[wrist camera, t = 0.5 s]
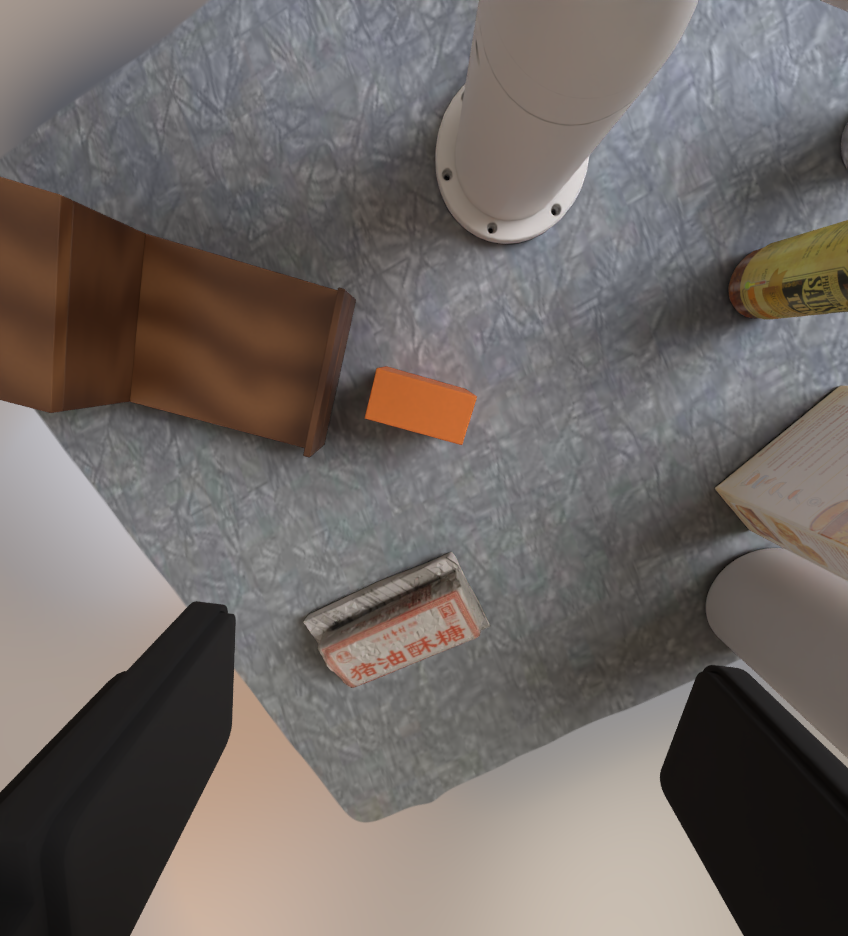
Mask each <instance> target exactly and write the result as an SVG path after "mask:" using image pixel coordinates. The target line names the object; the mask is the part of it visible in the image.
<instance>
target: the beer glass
mask: <svg viewBox="0 0 848 936" xmlns="http://www.w3.org/2000/svg"><path fill="white" fill-rule="evenodd" d="M841 156H842V160H843V163H844V165H845V166H846V168H847V169H848V122H847V124H846V126H845V128H844V131H843V134H842V139H841Z"/></svg>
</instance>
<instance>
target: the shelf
mask: <svg viewBox="0 0 848 936" xmlns="http://www.w3.org/2000/svg"><path fill="white" fill-rule="evenodd" d="M355 303H356V299H355V298H354V297H353V296H352V295H351V294H349V293H348V292H347V291H346V290H345V289H342V288H338V290H334V289H331V288H328V287H324V286H321V285H317V284H314V283H311V282H307V281H304V280H301V279H297V278H294V277H290V276H287V275H284V274H280V273H277V272H274V271H270V270H267V269H263V268H260V267H257V266H253V265H250V264H247V263H243V262H240V261H236V260H233V259H230V258H226V257H223V256H220V255H216V254H213V253H209V252H206V251H203V250H199V249H196V248H193V247H189V246H186V245H183V244H179V243H176V242H172V241H169V240H166V239H162V238H159V237H156V236H152V235H149V234H145V233H143V232H141V231H139V230H136V229H134V228H132V227H130V226H128V225H125V224H123V223H121V222H119V221H117V220H114V219H112V218H110V217H108V216H106V215H103V214H101V213H99V212H97V211H95V210H93V209H90V208H88V207H86V206H84V205H82V204H79V203H77V202H75V201H72V200H71V199H68V198H66V197H64V196H62V195H59V194H56V193H53V192H49V191H46V190H43V189H39V188H36V187H33V186H29V185H26V184H23V183H19V182H16V181H13V180H9V179H6V178H2V177H0V400H3V401H7V402H10V403H14V404H18V405H22V406H26V407H30V408H33V409H37V410H41V411H45V412H49V413H54V412H61V411H68V410H75V409H81V408H88V407H95V406H102V405H109V404H116V403H123V402H133V403H137V404H141V405H144V406H148V407H152V408H156V409H159V410H163V411H167V412H171V413H175V414H178V415H182V416H186V417H190V418H193V419H197V420H201V421H205V422H208V423H212V424H216V425H220V426H224V427H227V428H231V429H235V430H239V431H242V432H246V433H250V434H254V435H258V436H261V437H265V438H269V439H273V440H276V441H280V442H284V443H288V444H291V445H295V446H299V447H303V448H305V450H304V454H303V456H306V457H311V456H312V455H313V454H314V453H315V452H316V451H318V450H319V449H320V448H321V447H322V446H323V445H324V444H325V439H326V435H327V430H328V426H329V421H330V417H331V412H332V408H333V403H334V398H335V394H336V389H337V385H338V380H339V376H340V371H341V367H342V362H343V357H344V353H345V348H346V344H347V339H348V335H349V330H350V326H351V321H352V317H353V312H354V307H355Z"/></svg>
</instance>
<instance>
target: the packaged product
mask: <svg viewBox="0 0 848 936" xmlns="http://www.w3.org/2000/svg"><path fill="white" fill-rule="evenodd" d="M303 622H304V623H305V625H306V626H307V628H308V629H309V631H310V633H311V634H312V635H313V636H314V638H315V640H316V641H317V642H318V650H319V651H320V654H321V655H322V657H323V659H324V661H325V663H326V666H327V667H328V668H329V669H330V670H331V671H334V672H335V673H336V675H337V676H339V677H340V678H341V679H342V681H343V683H345V684H346V685H347V686H350V687H351V688H353V687H357V686H359V685H362V684H365V683H367V682H370V681H372V680H375V679H377V678H379V677H382V676H385V675H387V674H389V673H392V672H394V671H396V670H399V669H401V668H404V667H406V666H408V665H411V664H413V663H416V662H418V661H421V660H423V659H426V658H428V657H431V656H433V655H435V654H438V653H440V652H443V651H445V650H448V649H450V648H452V647H455V646H458V645H460V644H463V643H465V642H468V641H470V640H473V639H475V638H477V637H478V636H480V632H481V630H484V629H486V628H488V627H490V624H489V622H488V620H487V618H486V616H485V614H484V611H483V609H482V607H481V605H480V603H479V601H478V599H477V597H476V596H475V594H474V592H473V590H472V589H471V587H470V585H469V584H468V582H467V580H466V578H465V576H464V574H463V571H462V569H461V567H460V565H459V563H458V561H457V559H456V557H455V555H454V554H453V553H452V552H450V553H448V554H445V555H443V556H441V557H439V558H437V559H434V560H432V561H430V562H428V563H425V564H423V565H420V566H417V567H415V568H412V569H410V570H407V571H404V572H402V573H399V574H397V575H394V576H391V577H389V578H386V579H384V580H381V581H378V582H376V583H374V584H372V585H370V586H368V587H366V588H364V589H362V590H360V591H358V592H356V593H353V594H351V595H349V596H347V597H345V598H343V599H341V600H339V601H336V602H334V603H332V604H330V605H328V606H326V607H324V608H322V609H319V610H317V611H315V612H313V613H311V614H309V615H308V616H307V618H306V619H305V620H304V621H303Z"/></svg>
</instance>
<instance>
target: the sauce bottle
mask: <svg viewBox="0 0 848 936" xmlns="http://www.w3.org/2000/svg"><path fill="white" fill-rule="evenodd" d="M728 290H729V297H730V301H731V303H732V304H733V306H734V308H735V309H736V310H737V311H738V312H739V313H740V314H742V315H744V316H745V317H750V318H761V319H778V318H788V317H799V316H808V315H819V314H828V313H837V312H848V220H846V221H843V222H840V223H837V224H833V225H830V226H827V227H823V228H820V229H817V230H813V231H810V232H807V233H804V234H800V235H797V236H794V237H791V238H788V239H784V240H781V241H777V242H774V243H771V244H769V245H767V246H766V247H764V248H761V249H759V250H755V251H753V252H752V253H750V254H748V255H747V256H746V257H745V258H744V259H743V260H742V261H740V263H739V264H738V265H737V267H736V268H735V270H734V272H733V274H732V276H731V280H730V283H729V288H728Z"/></svg>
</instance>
